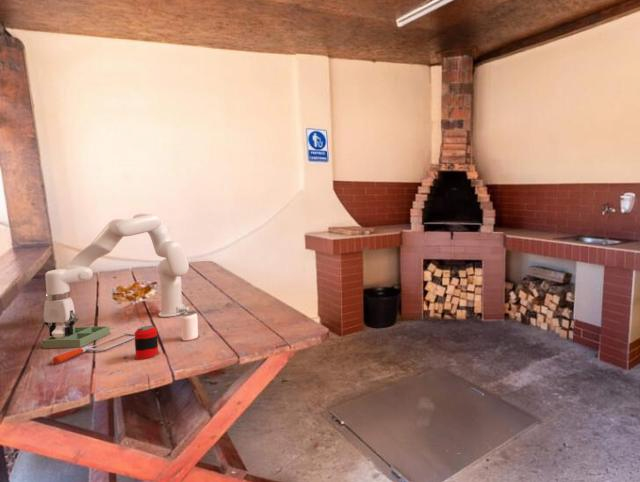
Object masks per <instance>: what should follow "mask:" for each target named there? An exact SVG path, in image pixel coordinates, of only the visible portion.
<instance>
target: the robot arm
mask: <svg viewBox="0 0 640 482" xmlns="http://www.w3.org/2000/svg"><path fill="white" fill-rule="evenodd" d="M145 233H147V234H148V235H149V237H150V239H151V242H152V245H153V249H154V252H155V254H156V256H158V257H160V258H163V259H162V260H160V262H159V264H158V267H157V268H158V269H157V270H158V275H159V280H160V300H161V301H160V302H161V311H159V313H158V317H159V318H160V317H161V318H170V317H171V318H173V317H176V316H181V315H182V314H183V313H186V312H189V309H190V306H188V305H187V306H185V303H183V290H182V289H183V288H182V285H183V284H182V283H183V282H182V277H183V276H185V275H186V274H188V272H189V270H190V269H189V268H190V265H189V260H188V256H187V254H186V253H187V252H186V251H185V248H184V246H183V245H182V243H181V242H179V241H176V240H173V239H172V236H171V234H170V231H169V229H168V227H167V225H166V224H165V223H164V222H163V221H162V220H161V218H160V216H158V215H156V214H155V213H137V214H135V215H133V217H132V218H126V219H123V218H116V219H112V220H111V221H109V222H108V224H107V225H106V226H105V227H104V228H103V229H102V230H101V232H100V233H99V234H98V235H97V236H96V237H95V238H94V239H93V241H91V243H90V244H89V245H87V246H86V247H85V248H84V249H82V250H81V251H80V252H79V253H77V254H76V256H75V255H74V258H72V259H71V260H70V262H69V263H68V264H67V265H66V267H65V268H58V269H51V270H48V271H46V272H45V273H44V274H45V275H44V277H45V289H46V294H45V298H46V300H45V301H44V306H43V317H42V319H41V322H43V323H44V324H45V325H46V326H47V327H46V328H48V331H49V337H52V336H53V335H52V332H53V331H54V330H55V329H56V326H57V323H63V324H65V325H66V328H65V336H69V335H71V334H73V328H74V326H75V324H76V323H77V321H78V320H79V319H80V317H79V316H78V315H77V314H76V311H75V305H74V301H73V299H72V297H71V288H70V287H71V285H70V284H81V283H82V284H83V283H86V282H88V281H90V280H92V278H93V276H94V272H93V270H92V269H91V268H90V266H91V265H92V264H93V263H94V262H95V261H96V260H98V259H100V258H102V257H104V256H105V255H108V254H110V253H111V252H112V251H113V250H114V248H115V247H116V246H117V245H118V243H119V242H120V241H121V240H122V239H123V238H124V237H131V236H136V235H141V234H145Z"/></svg>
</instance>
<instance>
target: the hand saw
mask: <svg viewBox="0 0 640 482" xmlns="http://www.w3.org/2000/svg"><path fill="white" fill-rule="evenodd" d="M125 335H126V336H130V337H127V338H125V339H123V340H120V341H118V342H114V343H113V344H111V345H108V346H105V347H101V348H98V347H97V348H95V347H96V346H99V345H101V344H104V343H107V342H110V341H111V340H114V339H118V338H120V337H123V336H125ZM133 339H135V332H129V331H127V332H125V333H123V334H121V335H118V336H116V337H113V338H111V339H108V340H105V341H102V342H100V343H97V344H95V345H84V346H82V347H79V348H76V349H73V350H70V351H67V352H64V353H61V354H59V355H56V356H54V357H53V358H52V363H53V364H55V365H57V364H61V363H63V362H66V361H68V360H70V359H73V358H76V357H77V356H79V355H82V354H83V353H88V352H89V351H91V352H101V351H105V350H108V349H111V348H114V347H116V346H118V345H121V344H123V343H126V342H129V341H131V340H133Z"/></svg>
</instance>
